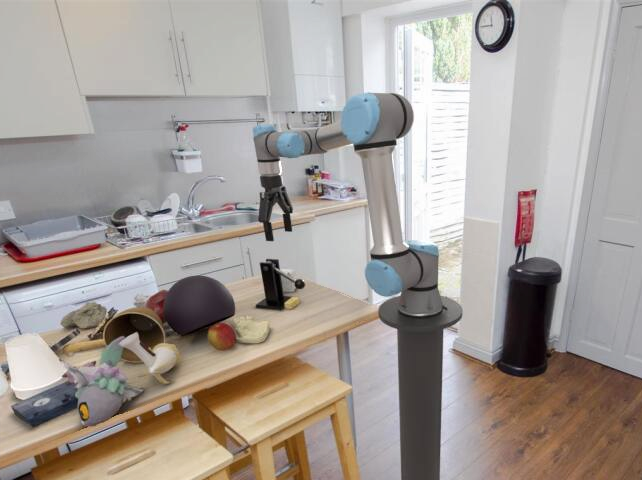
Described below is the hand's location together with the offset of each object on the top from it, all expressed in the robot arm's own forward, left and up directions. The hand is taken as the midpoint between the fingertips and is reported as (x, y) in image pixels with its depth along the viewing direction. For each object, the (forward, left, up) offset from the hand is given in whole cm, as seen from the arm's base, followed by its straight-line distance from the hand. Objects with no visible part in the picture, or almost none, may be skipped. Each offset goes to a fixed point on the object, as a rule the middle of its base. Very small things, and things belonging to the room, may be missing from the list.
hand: (279, 236), depth 166 cm
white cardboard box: (0, 0, -21) cm, 21 cm away
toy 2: (+10, +77, -14) cm, 79 cm away
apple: (-4, +45, -21) cm, 50 cm away
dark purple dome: (+3, +43, -17) cm, 46 cm away
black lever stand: (-3, +14, -21) cm, 25 cm away
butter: (-10, +14, -21) cm, 27 cm away
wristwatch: (+43, +78, -19) cm, 91 cm away
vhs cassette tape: (+21, +80, -20) cm, 85 cm away
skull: (+34, +29, -15) cm, 47 cm away
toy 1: (+44, +63, -20) cm, 79 cm away
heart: (+31, +36, -18) cm, 51 cm away
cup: (+27, +78, -7) cm, 83 cm away
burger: (+36, +50, -15) cm, 64 cm away
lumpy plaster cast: (-8, +39, -21) cm, 45 cm away
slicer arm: (-8, +14, -11) cm, 19 cm away
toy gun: (+5, +65, -7) cm, 65 cm away
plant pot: (+22, +47, -14) cm, 54 cm away
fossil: (+48, +40, -15) cm, 64 cm away
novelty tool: (+17, +40, -20) cm, 48 cm away
